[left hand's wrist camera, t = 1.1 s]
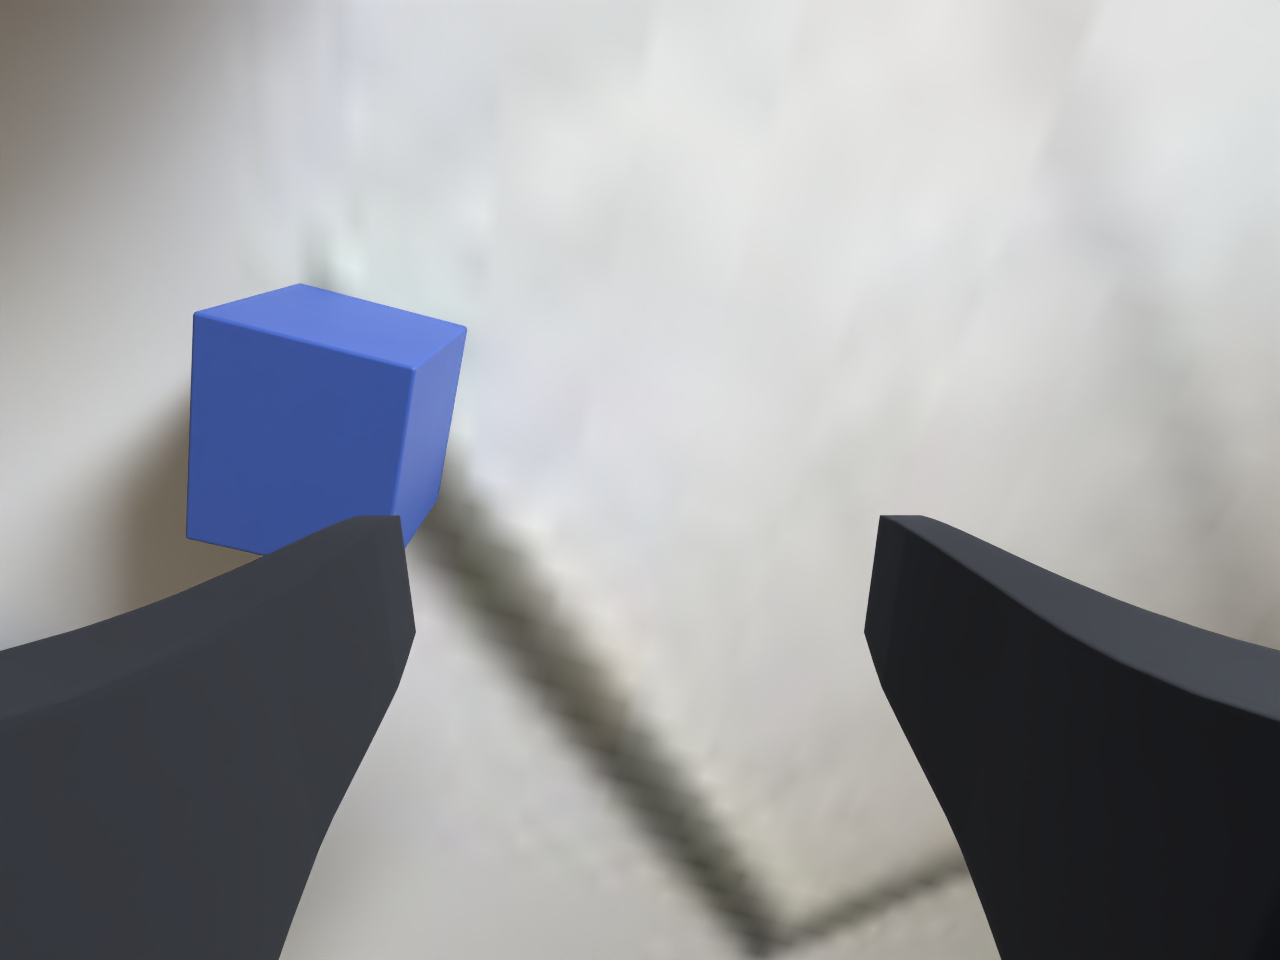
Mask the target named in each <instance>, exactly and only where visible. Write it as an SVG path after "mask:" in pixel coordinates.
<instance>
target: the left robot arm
mask: <svg viewBox="0 0 1280 960" xmlns="http://www.w3.org/2000/svg"><path fill="white" fill-rule="evenodd" d="M415 633H416V630H415V622H414V615H413V608H412V600H411V593H410V586H409V578H408V571H407V564H406V556H405V549H404V541H403V534H402V527H401V519H400V515H359V516H356V517H352V518H349V519H346V520H343V521H340V522H338V523H335V524H333V525H330V526H328V527H326V528H323V529H321V530H319V531H317V532H315V533H312V534H310V535H308V536H306V537H304V538H302V539H299V540H297V541H295V542H293V543H291V544H289V545H287V546H284V547H282V548H280V549H278V550H276V551H274V552H272V553H269V554H267V555H265V556H263V557H261V558H259V559H257V560H254V561H252V562H250V563H248V564H246V565H243V566H241V567H239V568H236V569H234V570H232V571H230V572H227V573H225V574H223V575H220V576H218V577H216V578H213V579H211V580H209V581H206V582H204V583H202V584H199V585H197V586H195V587H192V588H190V589H188V590H185V591H183V592H181V593H178V594H176V595H173V596H171V597H168V598H166V599H163V600H160V601H158V602H155V603H152V604H150V605H147V606H144V607H142V608H139V609H136V610H133V611H130V612H127V613H125V614H122V615H119V616H116V617H113V618H110V619H107V620H104V621H101V622H98V623H95V624H92V625H89V626H86V627H83V628H80V629H77V630H73V631H70V632H66V633H63V634H59V635H56V636H52V637H49V638H45V639H42V640H38V641H34V642H31V643H27V644H24V645H20V646H17V647H13V648H10V649H6V650H2V651H0V960H279V957H280V954H281V951H282V948H283V945H284V942H285V940H286V937H287V934H288V931H289V928H290V925H291V922H292V920H293V917H294V914H295V912H296V909H297V906H298V904H299V901H300V898H301V896H302V893H303V890H304V888H305V885H306V882H307V880H308V877H309V874H310V872H311V869H312V866H313V864H314V861H315V858H316V856H317V853H318V851H319V848H320V846H321V844H322V841H323V839H324V837H325V835H326V832H327V830H328V828H329V826H330V824H331V821H332V819H333V817H334V815H335V813H336V811H337V809H338V807H339V805H340V803H341V801H342V799H343V797H344V795H345V793H346V791H347V789H348V787H349V785H350V783H351V781H352V779H353V777H354V775H355V773H356V771H357V769H358V767H359V765H360V763H361V761H362V759H363V757H364V755H365V753H366V751H367V749H368V747H369V745H370V743H371V741H372V739H373V737H374V736H375V734H376V732H377V729H378V727H379V725H380V723H381V721H382V719H383V717H384V715H385V713H386V711H387V709H388V707H389V705H390V703H391V701H392V699H393V697H394V695H395V693H396V690H397V688H398V686H399V683H400V680H401V677H402V674H403V671H404V668H405V665H406V662H407V659H408V656H409V653H410V649H411V646H412V643H413V640H414V636H415ZM864 633H865V637H866V640H867V643H868V646H869V650H870V653H871V656H872V660H873V663H874V666H875V669H876V672H877V674H878V677H879V680H880V683H881V686H882V689H883V691H884V693H885V695H886V697H887V699H888V701H889V703H890V705H891V707H892V709H893V711H894V713H895V715H896V718H897V720H898V722H899V724H900V726H901V728H902V730H903V732H904V734H905V736H906V738H907V740H908V742H909V744H910V746H911V748H912V750H913V752H914V754H915V756H916V758H917V759H918V761H919V763H920V765H921V767H922V769H923V771H924V773H925V775H926V777H927V779H928V781H929V783H930V785H931V787H932V789H933V791H934V793H935V795H936V797H937V799H938V801H939V803H940V805H941V807H942V809H943V811H944V813H945V815H946V817H947V819H948V822H949V824H950V826H951V828H952V830H953V833H954V835H955V837H956V839H957V842H958V844H959V846H960V848H961V851H962V853H963V856H964V859H965V861H966V864H967V867H968V869H969V872H970V875H971V877H972V880H973V883H974V885H975V888H976V891H977V893H978V896H979V899H980V901H981V904H982V907H983V909H984V912H985V915H986V917H987V920H988V923H989V926H990V929H991V931H992V934H993V937H994V940H995V943H996V946H997V949H998V951H999V954H1000V957H1001V960H1280V651H1278V650H1274V649H1270V648H1267V647H1263V646H1259V645H1256V644H1252V643H1248V642H1244V641H1241V640H1237V639H1234V638H1230V637H1227V636H1224V635H1220V634H1217V633H1214V632H1210V631H1207V630H1204V629H1201V628H1198V627H1195V626H1192V625H1189V624H1186V623H1183V622H1180V621H1177V620H1174V619H1171V618H1168V617H1165V616H1162V615H1159V614H1156V613H1153V612H1150V611H1147V610H1144V609H1141V608H1139V607H1136V606H1133V605H1131V604H1128V603H1125V602H1123V601H1120V600H1117V599H1115V598H1112V597H1110V596H1107V595H1105V594H1102V593H1100V592H1098V591H1095V590H1093V589H1090V588H1088V587H1086V586H1083V585H1081V584H1078V583H1076V582H1073V581H1071V580H1069V579H1066V578H1064V577H1062V576H1059V575H1057V574H1055V573H1053V572H1050V571H1048V570H1046V569H1043V568H1041V567H1039V566H1037V565H1035V564H1032V563H1030V562H1028V561H1026V560H1024V559H1022V558H1019V557H1017V556H1015V555H1013V554H1011V553H1009V552H1007V551H1004V550H1002V549H1000V548H998V547H996V546H994V545H992V544H990V543H987V542H985V541H983V540H981V539H979V538H977V537H975V536H972V535H970V534H968V533H966V532H964V531H961V530H959V529H957V528H955V527H952V526H950V525H948V524H945V523H943V522H940V521H937V520H935V519H932V518H928V517H925V516H921V515H880V519H879V526H878V533H877V541H876V548H875V555H874V563H873V570H872V578H871V585H870V592H869V600H868V607H867V614H866V622H865V629H864Z"/></svg>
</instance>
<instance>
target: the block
mask: <svg viewBox="0 0 1280 960" xmlns="http://www.w3.org/2000/svg"><path fill="white" fill-rule="evenodd" d="M466 333H467V328H466V327H465V326H462V325H458V324H454V323H450V322H447V321H443V320H439V319H435V318H431V317H427V316H423V315H420V314H416V313H412V312H408V311H404V310H400V309H397V308H393V307H389V306H385V305H381V304H377V303H373V302H370V301H366V300H362V299H358V298H354V297H350V296H346V295H343V294H339V293H335V292H331V291H327V290H323V289H320V288H316V287H312V286H308V285H304V284H296V285H292V286H289V287H285V288H281V289H278V290H274V291H270V292H267V293H263V294H259V295H256V296H252V297H248V298H245V299H241V300H238V301H234V302H230V303H227V304H223V305H219V306H216V307H212V308H208V309H205V310H201V311H197V312H195V313H194V315H193V339H192V369H191V400H190V430H189V460H188V490H187V521H186V537H187V538H188V539H192V540H197V541H201V542H206V543H210V544H215V545H219V546H223V547H228V548H232V549H237V550H241V551H246V552H250V553H255V554H259V555H264V556H265V555H267V554H269V553H272V552H274V551H276V550H278V549H280V548H282V547H284V546H287V545H289V544H291V543H293V542H295V541H297V540H299V539H302V538H304V537H306V536H308V535H310V534H312V533H315V532H317V531H319V530H321V529H323V528H326V527H328V526H330V525H333V524H335V523H338V522H340V521H343V520H346V519H349V518H352V517H356V516H359V515H400V519H401V527H402V534H403V541H404V549H405V548H406V546H407V544H408V543H409V541H410V540H411V538H412V537H413V535H414V534H415V532H416V531H417V529H418V528H419V526H420V525H421V523H422V522H423V520H424V519H425V517H426V516H427V514H428V512H429V511H430V509H431V508H432V506H433V505H434V503H435V502H436V500H437V499H438V494H439V488H440V482H441V476H442V471H443V465H444V459H445V453H446V448H447V442H448V436H449V430H450V425H451V419H452V413H453V407H454V402H455V396H456V390H457V384H458V379H459V373H460V367H461V361H462V356H463V350H464V344H465V338H466Z"/></svg>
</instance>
